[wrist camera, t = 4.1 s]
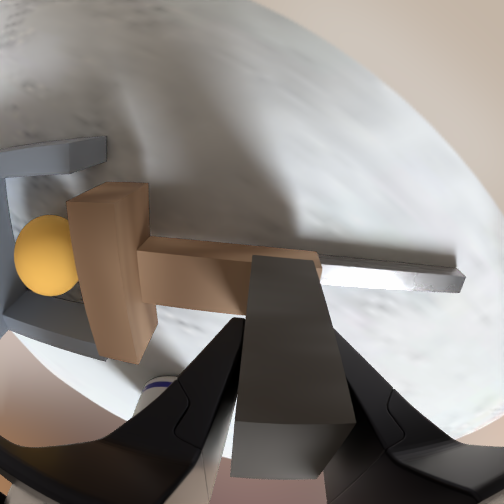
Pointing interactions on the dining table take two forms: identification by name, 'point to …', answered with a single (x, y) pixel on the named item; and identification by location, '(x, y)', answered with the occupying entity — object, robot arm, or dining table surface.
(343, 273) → the rail
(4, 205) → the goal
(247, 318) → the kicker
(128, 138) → the dining table surface
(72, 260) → the ball
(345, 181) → the dining table surface
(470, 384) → the dining table surface
